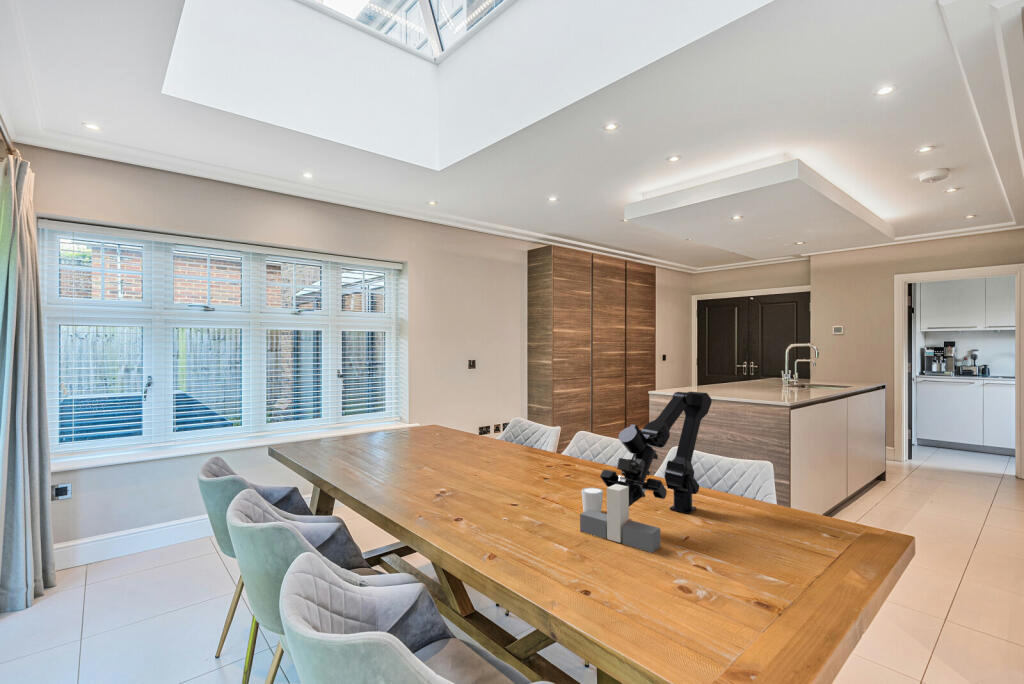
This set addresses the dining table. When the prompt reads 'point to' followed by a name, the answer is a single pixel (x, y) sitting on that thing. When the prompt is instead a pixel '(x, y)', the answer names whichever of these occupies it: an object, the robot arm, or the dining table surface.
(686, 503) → the robot arm
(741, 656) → the dining table surface
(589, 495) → the shot glass
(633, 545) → the grey blocks
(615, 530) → the peg block
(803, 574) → the dining table surface
